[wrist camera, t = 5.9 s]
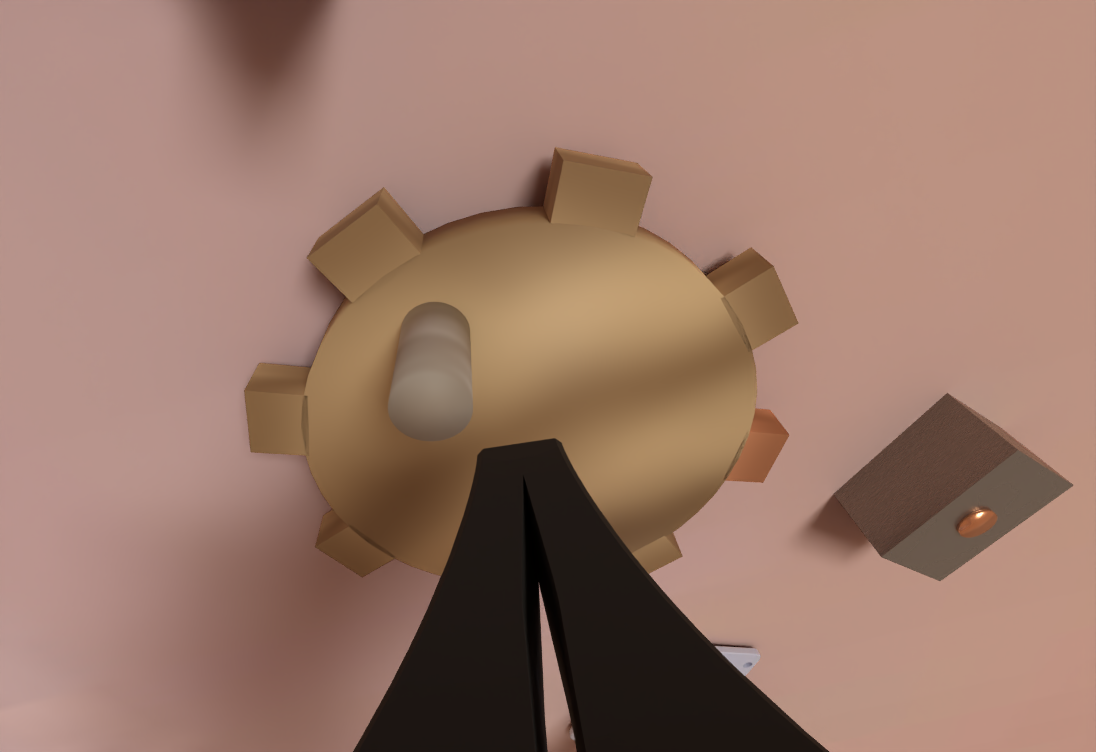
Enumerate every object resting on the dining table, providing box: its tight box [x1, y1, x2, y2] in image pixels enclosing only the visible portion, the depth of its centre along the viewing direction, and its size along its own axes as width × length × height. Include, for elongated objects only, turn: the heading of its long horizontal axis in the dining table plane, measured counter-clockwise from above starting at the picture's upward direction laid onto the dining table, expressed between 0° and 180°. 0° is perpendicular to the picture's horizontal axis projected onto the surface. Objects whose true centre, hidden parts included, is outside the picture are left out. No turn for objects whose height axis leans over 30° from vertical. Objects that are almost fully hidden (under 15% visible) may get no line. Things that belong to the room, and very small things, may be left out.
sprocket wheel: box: [244, 147, 798, 577], centre depth 17 cm, size 17×17×5 cm
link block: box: [834, 393, 1073, 581], centre depth 22 cm, size 6×4×4 cm, turn 148°
